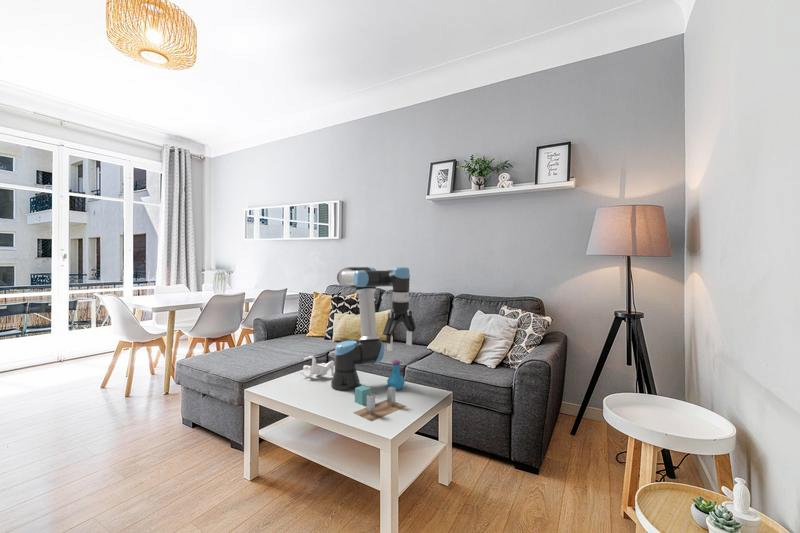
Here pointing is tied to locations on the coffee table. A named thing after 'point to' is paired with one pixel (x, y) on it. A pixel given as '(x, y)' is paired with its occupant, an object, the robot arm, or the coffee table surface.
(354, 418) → the coffee table surface
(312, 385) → the coffee table surface
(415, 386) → the coffee table surface
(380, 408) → the board
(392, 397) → the post
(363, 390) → the teal rectangular prism
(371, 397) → the post
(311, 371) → the white branched piece
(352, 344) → the robot arm
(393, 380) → the perfume bottle
